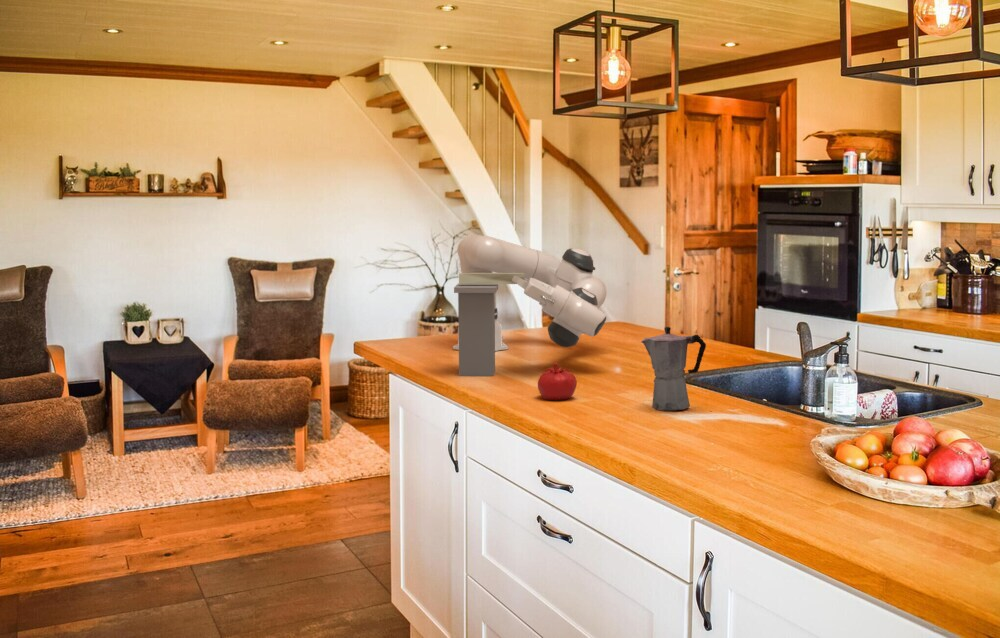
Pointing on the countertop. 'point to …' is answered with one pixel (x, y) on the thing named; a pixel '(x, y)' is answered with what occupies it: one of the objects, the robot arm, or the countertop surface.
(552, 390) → the pomegranate
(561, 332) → the robot arm
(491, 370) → the tall stand
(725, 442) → the countertop surface
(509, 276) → the beige block
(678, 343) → the moka pot
